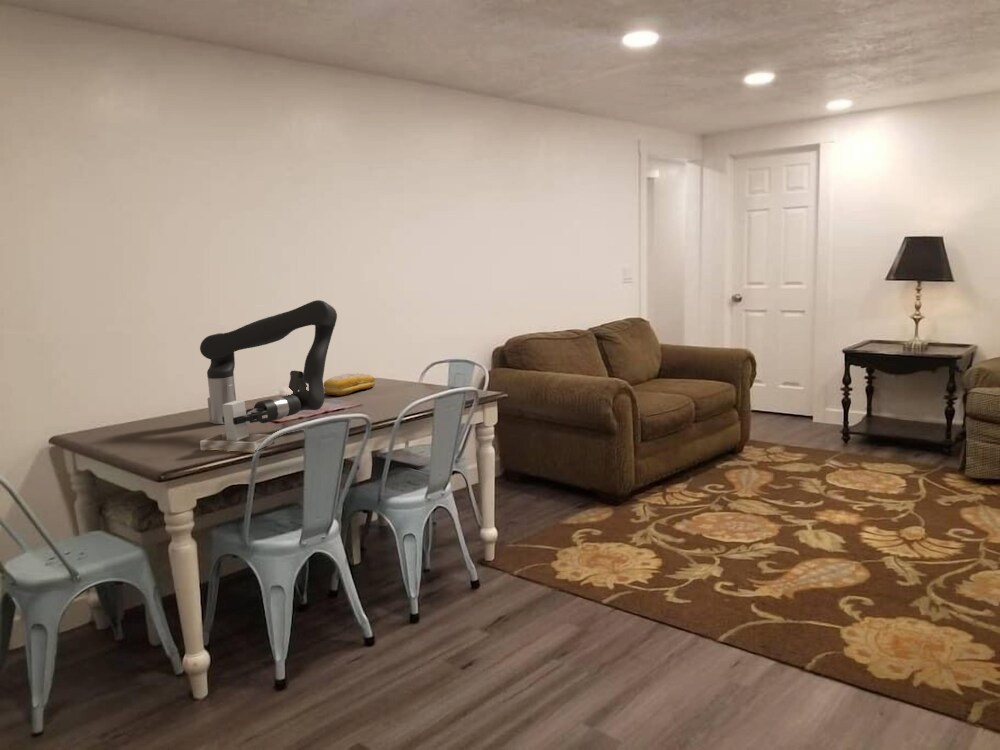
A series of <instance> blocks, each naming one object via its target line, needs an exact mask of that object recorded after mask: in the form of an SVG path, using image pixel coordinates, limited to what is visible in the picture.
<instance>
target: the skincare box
mask: <svg viewBox="0 0 1000 750" xmlns="http://www.w3.org/2000/svg"><path fill="white" fill-rule="evenodd" d="M222 407H223V414H224V422H225V424H224V428H225V433H226V436H227V440H230V441H237V440H240V439H243V438H245V437H248V436H249V434H250V433H249V425H248V423H245V422H244V423H241V424H237V425H234V424H233V418H235V417H239V416H244V415H246V409H247V408H246V403H245V400H236V401H232V402H229V403H226V404H223V405H222Z"/></svg>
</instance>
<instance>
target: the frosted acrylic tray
mask: <svg viewBox="0 0 1000 750" xmlns="http://www.w3.org/2000/svg"><path fill="white" fill-rule="evenodd" d="M270 435H271V434H261V433H249V436H248V437H245V438H243V439H240V440H237V441H230V440H227V436H226V432H220V433H217V434H215V435H212V436H210V437H207V438H204V439H201V440H200V441H199V444H200V445H199V447H200V451H205V450H224V451H223V452H230V451H243V452H242V453H256V452H255V450H256V449H257V448H258V446H259V445H260V444H261V443H262V442H263V441H264V440H265V439H266V438H267V437H269V436H270ZM225 450H227V451H225Z"/></svg>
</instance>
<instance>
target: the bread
mask: <svg viewBox="0 0 1000 750" xmlns="http://www.w3.org/2000/svg"><path fill="white" fill-rule="evenodd" d="M375 384H376V382H375V377H374V376H373V375H370V374H367V373H359V372H358V373H344V374H341V375H340V374H339V375H336V376H334V377H330V378H327V379H326V380H325V381H324V382H323V386H324V394H326V395H328V396H335V397H336V396H338V397H343V396H347V395H350V394H352V393H354V392H357V391H359V390H360V391H361V390H368V389H372V388H373V387H375Z"/></svg>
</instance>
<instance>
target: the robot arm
mask: <svg viewBox="0 0 1000 750" xmlns="http://www.w3.org/2000/svg"><path fill="white" fill-rule="evenodd" d="M337 318H338V314H337V310H336V309H335V308H334V306H332V305H330V304H329V303H327V302H326V301H324V300H320V299H319V300H318V299H317V300H313V301H310V302H307V303H305V304H303V305H301V306H299V307H296V308H294V309H291V310H288V311H285V312H282V313H281V312H280V313H278V314H275V315H271V316H267V317H265V318H262V319H258V320H256V321H253V322H251V323H248V324H245V325H243V326H242V327H239V328H237V329H234V330H232V331H228V332H224V333H222V332H220V333H215V334H210V335H208V336H206V337H205V338H204V339H202V340H201V343H200V346H199V352H200V354H201V355H202V356H203V357H204V358H206V359H208V360H210V364H209V367H208V369H207V371H206V374H207V384H208V385H207V386H208V393H209V395H208V396H209V397H208V398H207V406H208V407H207V408H208V417H209V423H210V424H213V425H225V422H224V414H223V407H222V405H223V404H226V403H229V402H232V401H237V395H236V394H237V393H236V385H235V376H234V374H235V373H234V371H235V368H236V367H235V366H236V365H235V363H236V361H235V360H236V359H235V352H238V351H241V350H246V349H252V348H257V347H261V346H264V345H269V344H272V343H275V342H278V341H281V340H283V339H284V338H285V337H287V336H288V335H290V334H291V333H293V331H295V330H297V329H300V328H301V329H302V328H304V327H308V326H314V337H313V342H312V344H311V346H310V348H309V351H308V353H307V355H306V357H305V362H304V366H303V367H304V369H303V371H302V372H303V381H304V382H305V383H306V385H307V384H308V385H307V386H308V389H309V391H307V390H306V391H299V390H298V392H296V393H294V394H291V395H288V396H287V395H284V396H279V397H273V398H268V399H265V400H264V399H263V400H260V401H257V402H256V403H255V405H254V406H253V407H249V408H245V409H246V415H244V416H239V417H235V418H233V424H234V425H237V424H241V423H244V422H245V423H247V424H248V423H250V424H254V423H261V424H267V423H271V422H274V421H277V420H281V419H283V418H286V417H290V416H294V415H296V414H298V413H299V412H300V411H301V412H302V411H318V410H320V409H321V408H322V407H323V404H324V402H325V391H324V388H325V387H324V382H323V381H324V372H325V366H326V359H327V355H328V349H329V346H330V343H331V339H332V336H333V332H334V330H335V326H336V324H337Z"/></svg>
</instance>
